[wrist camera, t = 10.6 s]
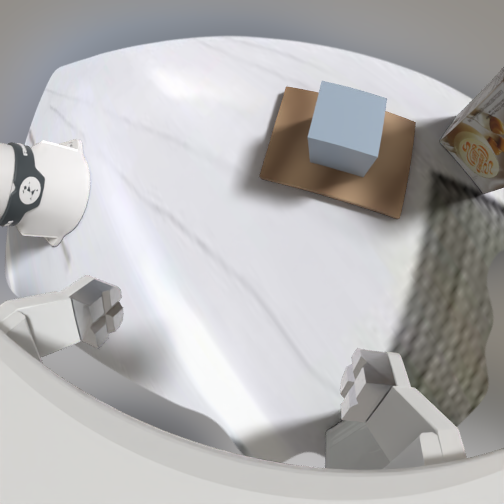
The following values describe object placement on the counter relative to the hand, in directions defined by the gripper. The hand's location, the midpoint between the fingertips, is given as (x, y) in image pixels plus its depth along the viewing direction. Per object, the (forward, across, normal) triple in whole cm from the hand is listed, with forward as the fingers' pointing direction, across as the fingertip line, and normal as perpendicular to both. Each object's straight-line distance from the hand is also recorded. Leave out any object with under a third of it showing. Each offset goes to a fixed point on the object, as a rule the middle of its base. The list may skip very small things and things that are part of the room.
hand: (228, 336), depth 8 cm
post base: (+25, -5, -7) cm, 27 cm away
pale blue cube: (+24, -5, -8) cm, 26 cm away
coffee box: (+26, -22, -12) cm, 36 cm away
